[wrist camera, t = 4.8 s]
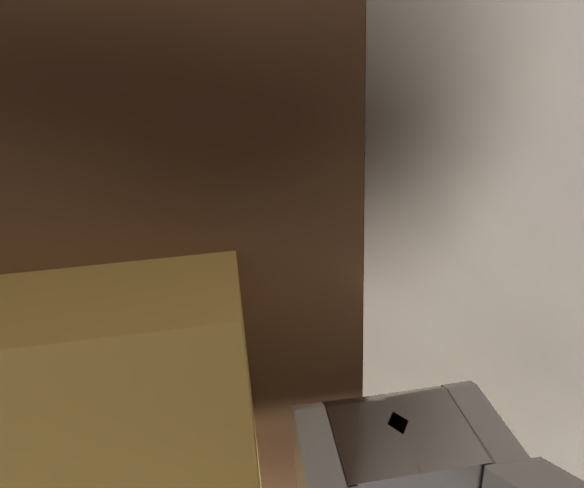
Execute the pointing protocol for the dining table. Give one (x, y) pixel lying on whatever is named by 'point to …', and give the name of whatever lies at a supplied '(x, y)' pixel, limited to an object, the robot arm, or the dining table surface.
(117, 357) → the pale yellow flat block
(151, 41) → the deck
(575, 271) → the dining table surface
